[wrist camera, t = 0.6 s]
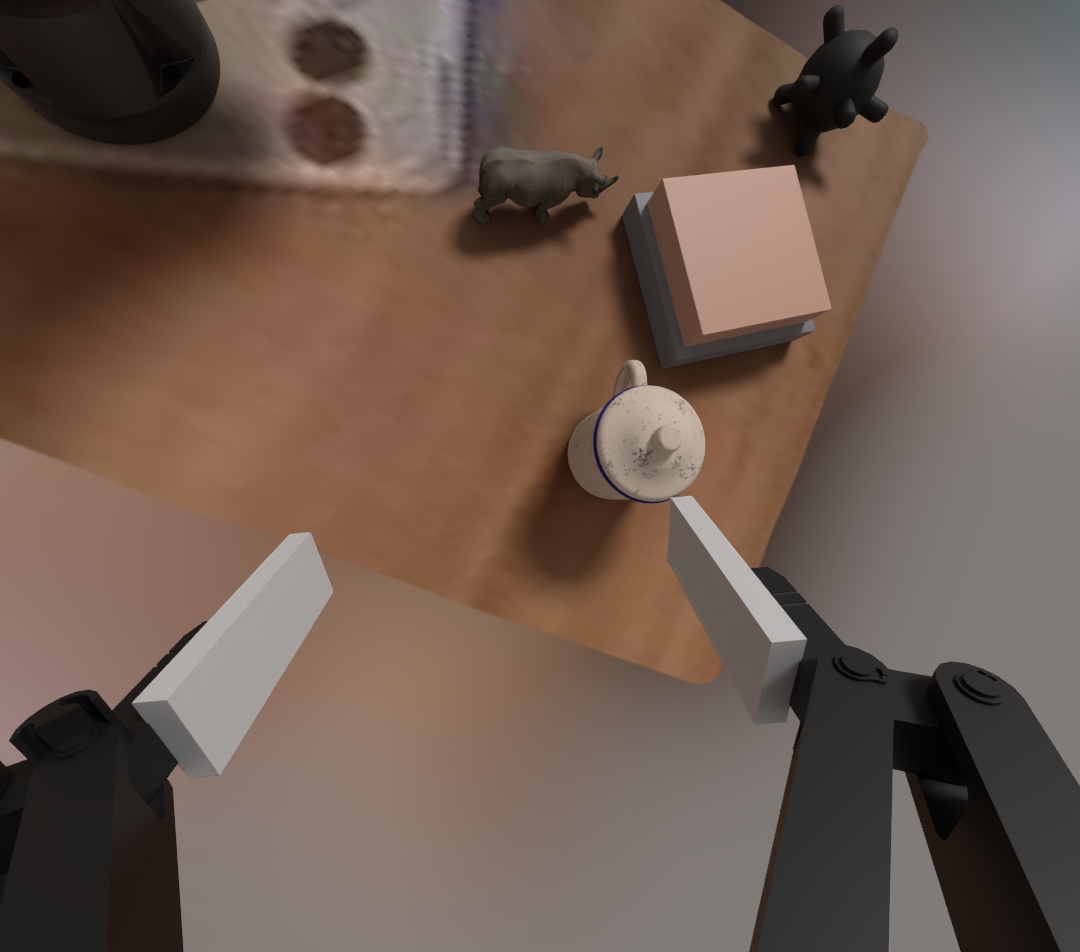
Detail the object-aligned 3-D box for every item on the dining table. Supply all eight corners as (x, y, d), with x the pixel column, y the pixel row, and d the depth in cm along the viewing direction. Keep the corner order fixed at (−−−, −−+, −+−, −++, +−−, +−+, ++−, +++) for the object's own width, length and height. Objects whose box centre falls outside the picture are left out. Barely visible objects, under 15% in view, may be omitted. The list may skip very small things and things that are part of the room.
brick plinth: (621, 215, 41) (649, 168, 35) (754, 199, 45) (800, 153, 39) (661, 369, 41) (696, 348, 35) (791, 341, 45) (842, 317, 39)
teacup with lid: (653, 501, 40) (732, 502, 29) (564, 502, 38) (610, 505, 27) (650, 381, 41) (726, 336, 30) (562, 376, 39) (606, 327, 28)
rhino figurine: (611, 222, 41) (637, 176, 35) (475, 231, 38) (479, 182, 32) (603, 182, 41) (628, 130, 35) (467, 188, 38) (469, 132, 32)
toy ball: (883, 70, 45) (908, 144, 41) (773, 125, 51) (787, 195, 47) (898, -57, 37) (932, 20, 33) (765, 25, 42) (781, 99, 39)
